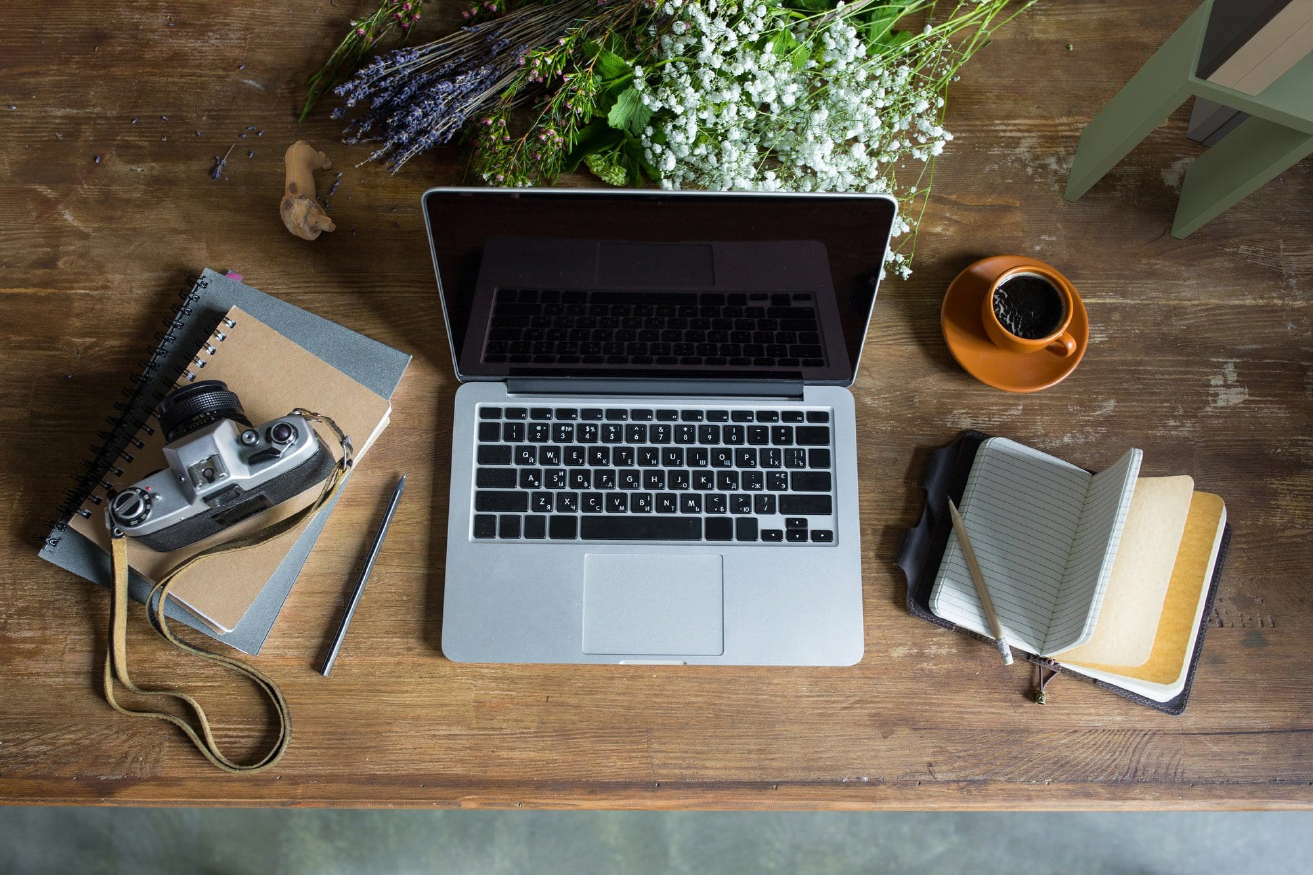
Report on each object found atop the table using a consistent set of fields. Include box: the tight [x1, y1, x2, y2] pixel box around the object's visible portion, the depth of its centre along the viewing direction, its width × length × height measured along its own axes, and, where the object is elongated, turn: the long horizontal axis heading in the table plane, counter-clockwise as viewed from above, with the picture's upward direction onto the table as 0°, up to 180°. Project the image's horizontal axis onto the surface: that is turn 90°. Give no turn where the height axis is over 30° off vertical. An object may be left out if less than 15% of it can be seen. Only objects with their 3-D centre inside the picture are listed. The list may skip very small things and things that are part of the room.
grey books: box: [1185, 95, 1252, 149], centre depth 93 cm, size 4×9×12 cm, turn 160°
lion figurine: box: [279, 139, 337, 241], centre depth 88 cm, size 15×5×9 cm, turn 16°
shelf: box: [1062, 0, 1313, 241], centre depth 86 cm, size 15×10×22 cm, turn 70°
